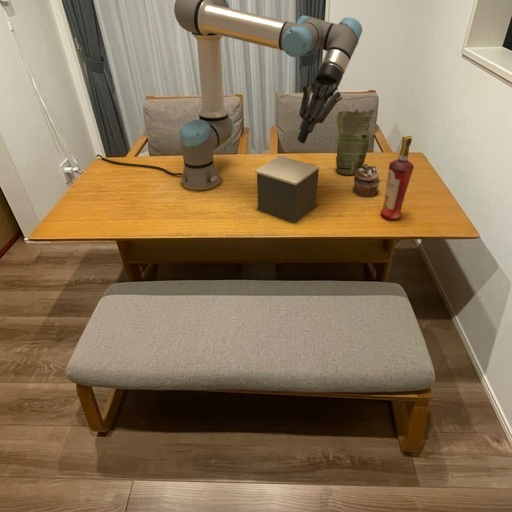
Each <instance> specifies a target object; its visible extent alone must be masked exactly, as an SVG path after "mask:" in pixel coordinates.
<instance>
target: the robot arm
mask: <svg viewBox="0 0 512 512" xmlns="http://www.w3.org/2000/svg"><path fill="white" fill-rule="evenodd" d="M173 13H174V17H175V19H176V21H177V23H178V25H179V26H180V27H181V28H182V29H183V30H185V31H187V32H190V33H191V35H192V36H193V38H195V41H196V50H197V51H196V52H197V62H198V75H199V87H200V88H199V89H200V99H201V109H199V111H198V119H194V120H192V121H187V122H185V123H184V124H183V125H181V127H180V129H179V141H180V146H181V147H180V148H181V152H182V153H181V154H182V160H183V171H182V172H181V173H180V172H179V173H177V172H175V173H174V172H171V171H169V170H168V169H166V168H163V167H160V166H156V165H150V164H149V165H148V164H140V163H128V162H119V161H115V160H111V159H108V158H105V157H103V155H101V154H96V158H98V157H99V158H101V159H102V160H103V161H106V162H110V163H113V164H118V165H123V166H124V165H125V166H134V167H145V168H152V169H158V170H162V171H164V172H166V173H167V174H169V175H172V176H182V177H181V182H182V183H181V184H182V186H183V188H185V189H187V190H188V191H189V190H190V191H195V192H201V191H202V192H203V191H208V190H212V189H214V188H216V187H217V186H219V184H220V182H221V176H220V173H219V171H218V169H217V167H216V165H215V161H214V151H215V150H216V149H218V148H219V147H220V146H222V145H223V144H225V143H226V142H227V141H229V139H230V138H231V137H232V135H233V133H234V122H233V119H232V118H231V116H230V115H229V111H228V109H227V108H225V100H224V77H223V61H222V60H223V57H222V38H223V37H226V38H231V39H235V40H238V41H243V42H247V43H250V44H254V45H259V46H262V47H267V48H270V49H275V50H280V51H282V52H284V53H285V54H287V56H288V57H291V58H298V57H302V56H304V55H306V54H307V53H309V52H310V51H312V50H314V49H315V48H316V49H319V50H322V51H326V53H325V55H324V58H323V59H322V62H321V65H320V67H319V69H318V71H317V73H316V76H315V80H314V81H313V82H312V83H311V85H310V86H303V87H302V91H303V92H302V93H303V94H302V99H301V104H300V109H299V114H298V115H299V117H300V119H302V121H301V123H300V125H299V130H300V131H299V133H298V136H297V141H298V142H299V143H300V144H306V141H307V139H308V136H309V134H312V133H313V131H314V129H315V126H316V124H323V123H324V121H325V120H326V118H327V117H328V116H329V114H330V113H331V111H333V109H334V107H335V106H336V104H338V103H339V102H340V101H341V100H343V96H342V93H341V92H340V91H338V89H339V86H340V84H341V82H342V79H343V77H344V75H345V74H346V70H347V68H348V66H349V63H350V61H351V59H352V57H353V54H354V52H355V50H356V48H357V46H358V44H359V41H360V38H361V35H362V33H363V26H362V24H361V22H360V21H359V20H357V19H356V18H355V17H351V16H349V17H343V18H342V19H341V20H340V21H339V23H333V22H330V21H326V20H323V19H319V18H317V17H314V16H309V15H301V16H300V17H299V18H298V19H297V21H296V22H292V21H287V20H283V19H280V18H275V17H271V16H266V15H261V14H257V13H253V12H248V11H243V10H241V9H236V8H231V7H230V3H229V0H175V1H174V5H173ZM310 98H311V99H310Z"/></svg>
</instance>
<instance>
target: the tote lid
mask: <svg viewBox="0 0 512 512" xmlns="http://www.w3.org/2000/svg"><path fill="white" fill-rule="evenodd" d="M318 169H319V170H320V166H319V165H315V164H312V163H308V162H304V161H300V160H298V159H297V160H296V159H293V158H290V157H286V156H282V155H278V156H276V157H275V158H272V160H270V161H268V162H267V163H264V164H263V165H262V166H260V167H259V168H257V169H255V170H254V173H256V174H257V173H258V174H261V175H264V176H267V177H271V178H274V179H277V180H280V181H283V182H287V183H290V184H293V185H297V184H298V183H300V182H301V181H303V180H304V179H305V178H307V177H308V176H309V175H311V174H312V173H314V172H315V171H316V170H318Z"/></svg>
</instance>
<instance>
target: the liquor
mask: <svg viewBox="0 0 512 512" xmlns="http://www.w3.org/2000/svg"><path fill="white" fill-rule="evenodd" d="M412 140H413V136H411V135H403V136H402V139H401V148H400V151H399V153H398V157H397V159H394V160H392V161H390V162H389V165H388V171H387V178H386V185H385V191H384V192H385V193H384V199H383V205H382V208H381V210H380V214H381V215H382V216H383V217H384V218H385V219H388V220H396V219H398V218H400V217H401V216H402V214H403V213H402V208H403V204H404V201H405V197H406V194H407V190H408V188H409V184H410V181H411V178H412V174H413V171H414V168H415V167H414V166H415V165H414V164H413V163H412V162H411V161H409V153H410V146H411V144H412Z"/></svg>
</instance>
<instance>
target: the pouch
mask: <svg viewBox="0 0 512 512" xmlns="http://www.w3.org/2000/svg"><path fill="white" fill-rule="evenodd" d="M375 113H376V110H374V109H370V110H367V111H364V110H362V111H360V112H359V109H356V110H354V111H351V110H350V111H349V110H341V111H337V117H336V125H337V128H338V129H337V132H338V137H337V138H338V139H337V147H336V148H337V149H336V150H337V151H336V157H335V166H336V169H335V170H336V171H335V172H336V173H338V174H342V175H345V176H351V175H355V173H356V172H357V171H358V169H360V168H361V167H363V165H365V161H366V157H367V152H368V149H369V145H370V143H369V142H370V132H369V127H370V126H371V124H370V121H371V120H372V118H373V115H374V114H375Z"/></svg>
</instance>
